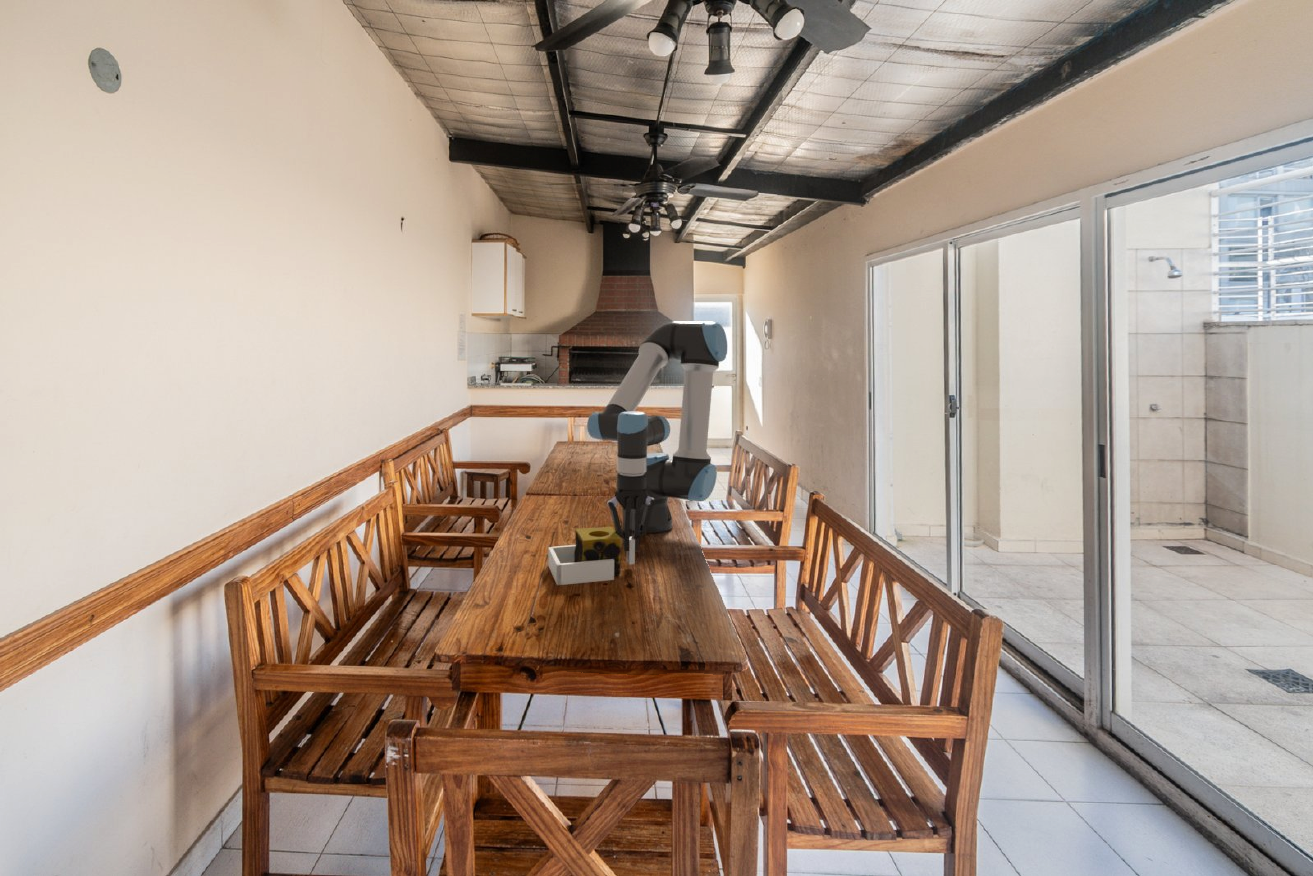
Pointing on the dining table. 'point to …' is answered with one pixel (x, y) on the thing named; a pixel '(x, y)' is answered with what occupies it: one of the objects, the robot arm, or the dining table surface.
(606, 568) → the frame
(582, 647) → the dining table surface
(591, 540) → the candle
